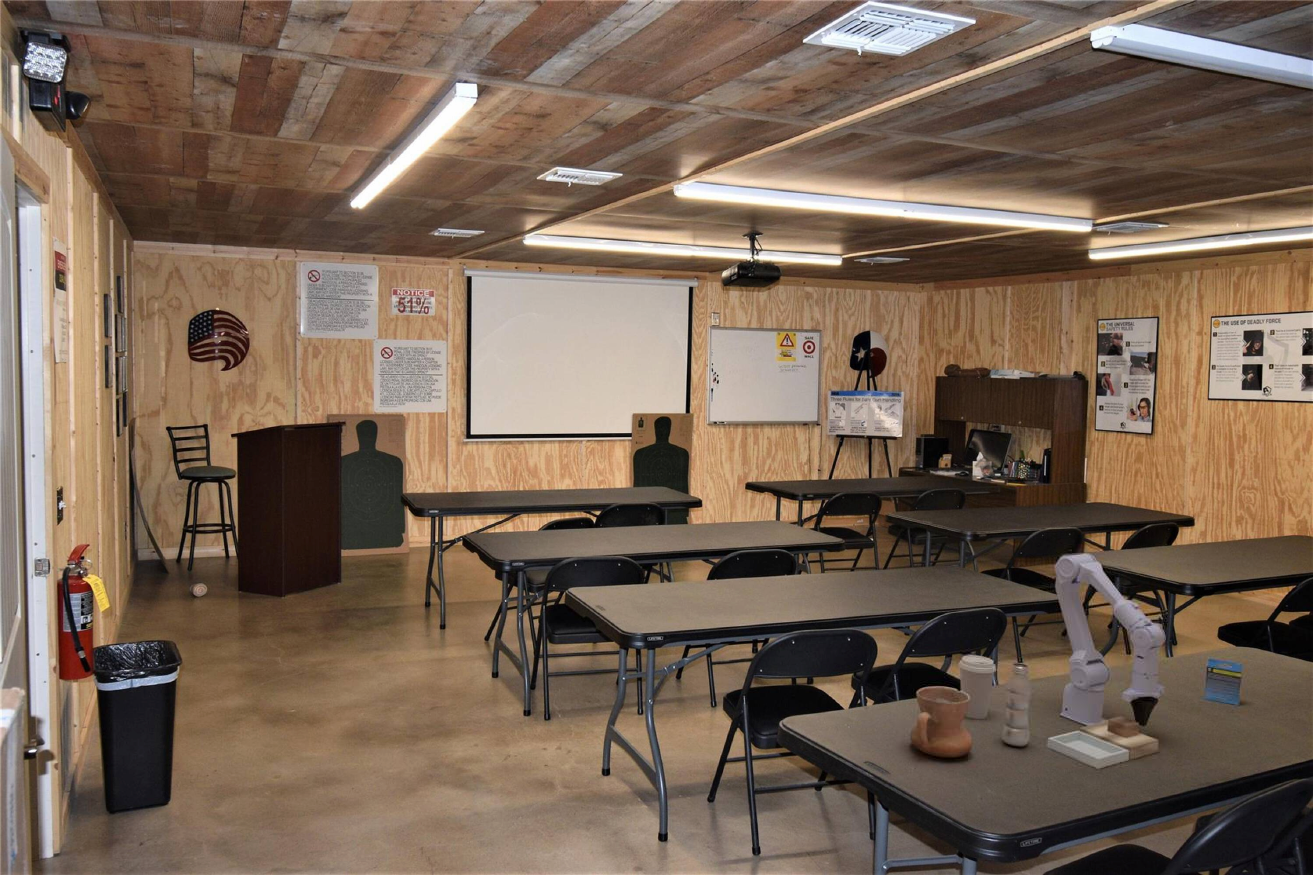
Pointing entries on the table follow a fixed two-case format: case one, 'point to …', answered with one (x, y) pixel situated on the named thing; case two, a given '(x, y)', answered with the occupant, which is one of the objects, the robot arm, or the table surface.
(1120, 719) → the brown block
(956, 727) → the ceramic jug
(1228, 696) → the label tape box
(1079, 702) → the robot arm
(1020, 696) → the plastic bottle
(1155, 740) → the tan wooden flat block
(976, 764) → the table surface
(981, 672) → the coffee cup
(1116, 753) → the box
